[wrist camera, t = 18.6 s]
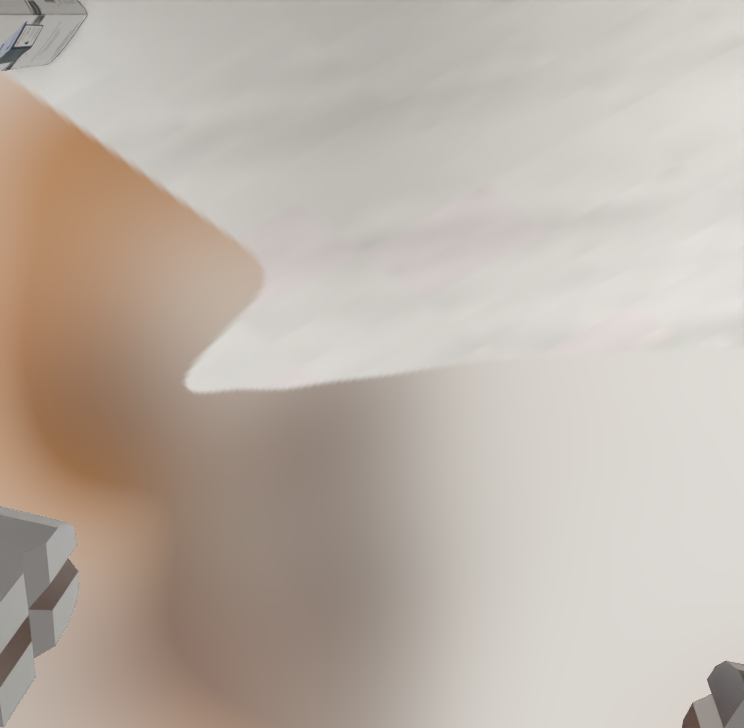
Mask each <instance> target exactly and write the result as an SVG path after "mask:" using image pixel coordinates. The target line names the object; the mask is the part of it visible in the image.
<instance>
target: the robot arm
mask: <svg viewBox="0 0 744 728" xmlns="http://www.w3.org/2000/svg"><path fill="white" fill-rule="evenodd" d="M76 546H77V542H76V534H75V526H74V525H72V524H70V523H68V522H64V521H60V520H56V519H52V518H47V517H43V516H39V515H35V514H31V513H27V512H22V511H18V510H14V509H10V508H6V507H2V506H0V727H4V726H5V724H6V723H7V721H8V720H9V718H10V717H11V715H12V714H13V712H14V710H15V709H16V707H17V706H18V704H19V703H20V701H21V699H22V698H23V696H24V695H25V693H26V692H27V690H28V688H29V687H30V685H31V684H32V682H33V681H34V679H35V677H36V676H35V667H34V658H35V657H37V656H39V655H40V654H42V653H44V652H46V651H47V650H49V649H51V648H53V647H54V646H56V644H57V642H58V641H59V639H60V637H61V636H62V634H63V632H64V631H65V629H66V628H67V625H68V623H69V620H70V618H71V615H72V613H73V610H74V608H75V605H76V602H77V596H78V589H79V572H78V570H77V569H76V568H75V566H74V565H73V564H72V563H71V561H70V560H69V559H68V557H69V556H70V555H71V553H72V552H73V550H74V549H75V547H76ZM707 681H708V684H709V687H710V690H711V693H712V694H710V695H708V696H706V697H704V698H702V699H699V700H697V701H695V702H693V703H692V705H691V707H690V709H689V711H688V712H687V714H686V716H685V718H684V720H683V725H682V728H744V664H739V663H734V662H729V661H724V662H722V663H721V664H719V665H717V666H715V668H714V669H713V671H712V673H711V674H710V676H709V677H708V679H707Z"/></svg>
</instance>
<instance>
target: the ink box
mask: <svg viewBox="0 0 744 728" xmlns="http://www.w3.org/2000/svg"><path fill="white" fill-rule="evenodd" d="M86 16H87V14H86V10H85V9H84V8H83V7H82V6H81V4H80V3H79V2H78V1H77V0H0V71H3V70H5V71H6V70H12V69H18V68H25V67H31V66H39V65H47V64H49V63H50V62H51V61H52V60H53V59H54V58H55V57H56V56H57V55H58V54H59V53H60V51H61V50H62V49H63V48H64V47H65V46H66V44H67V43H68V42H69V40H70V39H71V38H72V36H73V35H74V34H75V32H76V31H77V29H78V28H79V26H80V25H81V24H82V22H83V21H84V19H85V18H86Z"/></svg>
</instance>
